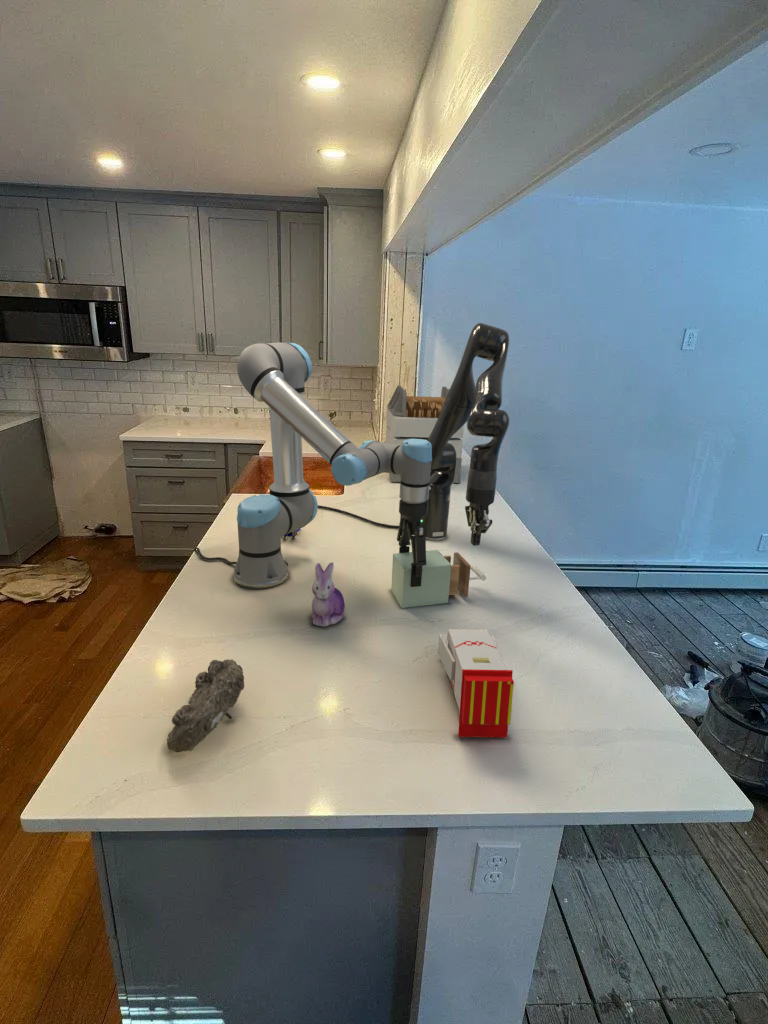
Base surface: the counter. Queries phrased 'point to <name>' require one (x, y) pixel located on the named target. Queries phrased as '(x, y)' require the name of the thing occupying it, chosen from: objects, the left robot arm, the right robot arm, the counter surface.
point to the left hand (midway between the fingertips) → (409, 577)
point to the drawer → (462, 575)
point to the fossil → (206, 705)
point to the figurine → (326, 598)
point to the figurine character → (291, 534)
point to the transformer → (417, 422)
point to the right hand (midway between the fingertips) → (475, 544)
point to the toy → (478, 682)
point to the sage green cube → (431, 584)
